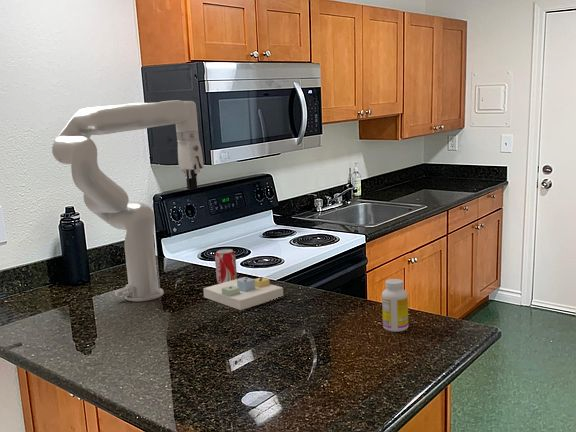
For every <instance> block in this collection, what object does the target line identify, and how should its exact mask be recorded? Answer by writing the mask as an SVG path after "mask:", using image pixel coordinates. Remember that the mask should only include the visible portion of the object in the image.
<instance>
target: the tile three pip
mask: <svg viewBox="0 0 576 432" xmlns="http://www.w3.org/2000/svg"><path fill="white" fill-rule="evenodd" d="M253 279H254V280H255V286H256V287H259V288H261V287H264V286H267V285H270V284H271V283H270V279H269V278H267V277H263V276H261V277H258V278H253Z"/></svg>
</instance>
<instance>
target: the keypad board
mask: <svg viewBox="0 0 576 432" xmlns="http://www.w3.org/2000/svg"><path fill="white" fill-rule="evenodd" d="M244 278H250V279H252V278H251V277H247V276H243V277H239V278H237V279H235V280H232V281H228V282H224V283H221V284H218V283H217V284H214V285H211V286H210V285H209V286H206V287H203V298H205V299H208V300H210V301H213V302H216V303H220V304H223V305H225V306H228V307H231V308H233V309H236V310H239V311H242V310H246V309H249V308H253V307H255V306H258V305H261V304H265V303H268V302H270V300H271V301H274V300H277V299H279V298H278V297H281V296H283V297H284V287H282V286H278V285H275V284H271V283H270V285H267V286H264V287H261V288H259V287H256V286H255V289H254V290H251V291H247V292H243V291H240V294H237V295H234V296H230V297H229V296H226V295H223V294H222V288H225V287H228V286H236V287H237V280H240V279H244ZM276 298H277V299H276ZM281 298H282V297H281ZM273 299H274V300H273Z"/></svg>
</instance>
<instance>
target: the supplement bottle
mask: <svg viewBox="0 0 576 432" xmlns="http://www.w3.org/2000/svg"><path fill="white" fill-rule="evenodd" d="M384 286H385V287H386V288H385V289H384V290H383V291H382V292H381V304H382V305H381V306H382V326H383V328H384V330H386V331H388V332H395V333H397V332H398V333H399V332H404V331H406V330H407V329H409V302H408V301H409V298H408V297H409V296H408V292H407V291H406V290H405V289H403V287H404V280H403V279H400V278H389V279H386V280H385V283H384Z"/></svg>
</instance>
